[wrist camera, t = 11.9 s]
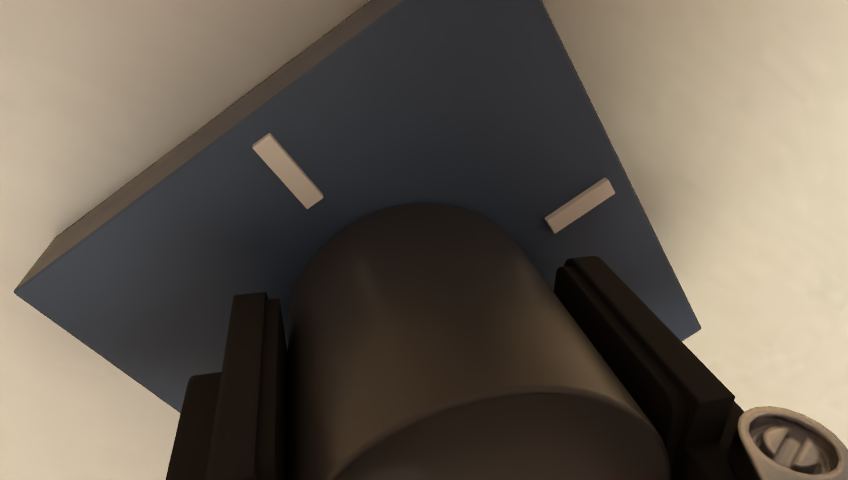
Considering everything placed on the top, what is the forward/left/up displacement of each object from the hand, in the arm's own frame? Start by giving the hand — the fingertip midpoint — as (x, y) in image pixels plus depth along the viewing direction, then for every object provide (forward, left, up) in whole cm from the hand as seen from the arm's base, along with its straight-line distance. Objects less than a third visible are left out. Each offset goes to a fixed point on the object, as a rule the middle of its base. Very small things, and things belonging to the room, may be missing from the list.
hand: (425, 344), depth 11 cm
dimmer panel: (0, 0, -3) cm, 3 cm away
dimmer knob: (0, 0, -1) cm, 1 cm away
